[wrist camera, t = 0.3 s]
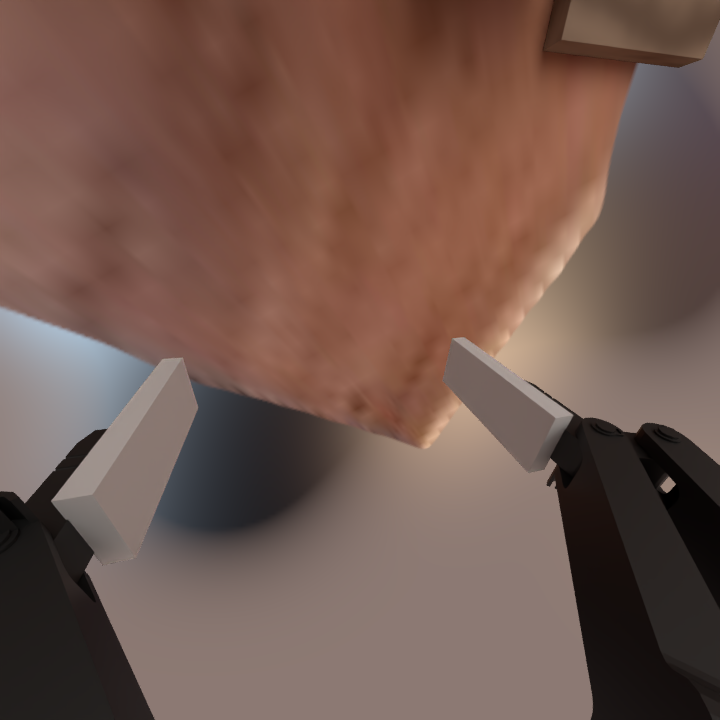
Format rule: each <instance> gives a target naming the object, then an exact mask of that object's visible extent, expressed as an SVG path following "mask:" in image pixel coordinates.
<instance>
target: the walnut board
mask: <svg viewBox="0 0 720 720" xmlns="http://www.w3.org/2000/svg"><path fill="white" fill-rule="evenodd" d="M719 20H720V0H554V4H553V9H552V13H551V18H550V22H549V27H548V31H547V36H546V40H545V45H544V49H543V51H548V52H556V53H564V54H572V55H580V56H588V57H596V58H605V59H613V60H621V61H629V62H637V63H645V64H653V65H661V66H669V67H677V68H679V67H682V66H685V65H688V64H690V63H693V62H696V61H699V60H701V59H703V57H704V55H705V53H706V50H707V48H708V46H709V43H710V41H711V39H712V36H713V34H714V32H715V29H716V27H717V25H718V22H719Z"/></svg>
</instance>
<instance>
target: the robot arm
mask: <svg viewBox="0 0 720 720" xmlns="http://www.w3.org/2000/svg"><path fill="white" fill-rule="evenodd" d="M443 382H444V383H445V384H446V385H447V386H448V387H449V388H450V389H451V390H452V391H453V392H454V393H455V395H456V396H457V397H458V398H459V399H460V400H461V401H462V402H463V403H464V404H465V405H466V406H467V407H468V408H469V410H470V411H472V413H473V414H474V415H475V416H476V417H477V418H478V419H479V420H480V421H481V422H482V424H483V425H484V426H485V427H486V428H487V429H488V430H489V431H490V432H491V433H492V434H493V435H494V436H495V438H496V439H497V440H498V441H499V442H500V443H501V444H502V445H503V446H504V447H505V448H506V449H507V451H508V452H509V453H510V454H511V455H512V456H513V457H514V458H515V459H516V460H517V461H518V462H519V464H520V465H521V466H522V467H523V468H524V469H525V470H526V471H527V472H528V473H530V472H535V471H539V470H544V469H545V467H546V465H547V463H548V461H549V460H550V458H551V459H552V460H553V461H554V462H555V463H557V465H556V467H555V469H554V471H553V472H552V474H551V476H550V478H549V479H548V481H547V486H550V485H551V484H552V482H553V481H556V487H555V489H557V492H558V498H559V503H560V510H561V516H562V521H563V527H564V533H565V539H566V545H567V550H568V556H569V562H570V568H571V574H572V580H573V586H574V591H575V597H576V603H577V609H578V614H579V620H580V626H581V632H582V638H583V644H584V649H585V655H586V661H587V667H588V672H589V678H590V684H591V690H592V696H593V713H592V717H591V720H720V465H718V464H717V463H716V462H715V461H714V460H713V459H711V458H710V457H709V456H708V455H707V454H706V453H705V452H703V451H702V450H701V449H700V448H699V447H697V446H696V445H695V444H694V443H693V442H692V441H691V440H689V439H688V438H687V437H685V436H684V435H682V434H681V433H679V432H677V431H675V430H674V429H672V428H670V427H667V426H664V425H659V424H655V423H645V424H643V425H642V426H641V427H640V429H639V430H638V432H637V433H629V432H623V431H622V430H621V429H619V428H618V427H616V426H614V425H613V424H611V423H609V422H606V421H603V420H600V419H596V418H584V419H583V418H581V417H580V416H578V415H577V414H576V413H574V412H573V411H571V410H570V409H568V408H567V407H566V406H564V405H563V404H561V403H560V402H558V401H557V400H556V399H552V397H551V396H550V395H548V394H547V393H544V391H543V390H541V389H540V388H539V387H537V386H536V385H534V384H532V383H530V382H528V381H525V380H523V379H522V378H521V377H519V376H518V375H516V374H515V373H514V372H512V371H511V370H509V369H508V368H507V367H505V366H504V365H502V364H501V363H499V362H498V361H497V360H495V359H494V358H493V357H491V356H490V355H488V354H487V353H486V352H484V351H483V350H481V349H480V348H479V347H477V346H476V345H474V344H473V343H472V342H470V341H469V340H467V339H466V338H465V337H463V338H452V341H451V345H450V350H449V354H448V359H447V363H446V368H445V372H444V377H443ZM197 410H198V405H197V402H196V399H195V396H194V393H193V390H192V386H191V383H190V380H189V376H188V373H187V370H186V367H185V364H184V360H183V358H169V359H162V360H161V362H160V363H159V364H158V365H157V367H156V368H155V369H154V371H153V372H152V373H151V374H150V376H149V377H148V378H147V379H146V381H145V382H144V383H143V385H142V386H141V387H140V388H139V390H138V391H137V392H136V393H135V395H134V396H133V397H132V399H131V400H130V401H129V402H128V404H127V405H126V406H125V408H124V409H123V410H122V412H121V413H120V414H119V415H118V416H117V418H116V419H115V420H114V422H113V423H112V424H111V425H110V427H109V428H108V429H103V430H95V431H94V432H92V433H91V434H89V435H88V436H87V437H85V438H84V439H82V440H81V441H80V442H78V443H77V444H76V445H75V446H74V448H73V449H72V450H71V451H70V452H69V453H68V455H67V456H66V459H64V460H63V461H61V463H60V464H59V465H58V466H57V467H56V471H53V472H52V473H51V474H50V475H49V477H48V478H47V479H46V480H45V481H44V482H43V483H42V485H41V486H40V487H39V488H38V489H37V490H36V492H35V493H34V494H33V495H32V496H31V497H30V498H29V500H28V501H27V502H26V503H24V502H23V501H22V500H21V499H20V498H19V497H18V496H17V495H16V494H15V493H14V492H2V491H1V492H0V720H155V719H154V717H153V715H152V713H151V711H150V708H149V706H148V704H147V702H146V700H145V697H144V695H143V693H142V691H141V689H140V686H139V684H138V682H137V680H136V678H135V675H134V673H133V671H132V669H131V667H130V664H129V662H128V660H127V658H126V656H125V654H124V651H123V649H122V647H121V645H120V642H119V640H118V638H117V636H116V634H115V631H114V629H113V627H112V625H111V623H110V621H109V618H108V616H107V614H106V612H105V610H104V607H103V605H102V603H101V601H100V599H99V596H98V594H97V592H96V590H95V588H94V585H93V583H92V581H91V579H90V577H89V575H88V574H87V573H86V572H85V569H86V567H87V565H88V563H89V561H90V559H91V558H92V556H93V554H94V555H95V556H96V557H97V559H98V560H99V561H100V563H101V564H102V565H107V564H112V563H116V562H121V561H125V560H130V559H135V558H136V557H137V554H138V552H139V549H140V547H141V545H142V542H143V540H144V537H145V535H146V532H147V530H148V528H149V525H150V523H151V520H152V518H153V516H154V513H155V511H156V508H157V506H158V504H159V501H160V499H161V496H162V494H163V492H164V489H165V487H166V484H167V482H168V480H169V477H170V475H171V472H172V470H173V467H174V465H175V463H176V460H177V458H178V455H179V453H180V451H181V448H182V446H183V443H184V441H185V438H186V436H187V434H188V431H189V429H190V426H191V424H192V422H193V419H194V417H195V414H196V412H197ZM668 477H670V478H671V479H672V480H673V481H674V482H675V483H676V485H675V486H674V487H673V488H672V490H671V491H670V492H668V493H666V492H664V491H663V490H662V488H661V487H660V486H661V485H662V484H663V482H664V481H665V480H666V479H667V478H668Z"/></svg>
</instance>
